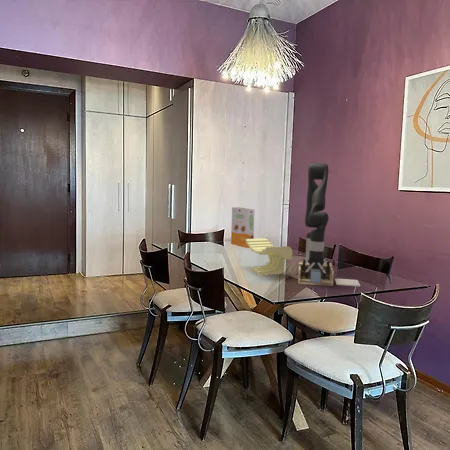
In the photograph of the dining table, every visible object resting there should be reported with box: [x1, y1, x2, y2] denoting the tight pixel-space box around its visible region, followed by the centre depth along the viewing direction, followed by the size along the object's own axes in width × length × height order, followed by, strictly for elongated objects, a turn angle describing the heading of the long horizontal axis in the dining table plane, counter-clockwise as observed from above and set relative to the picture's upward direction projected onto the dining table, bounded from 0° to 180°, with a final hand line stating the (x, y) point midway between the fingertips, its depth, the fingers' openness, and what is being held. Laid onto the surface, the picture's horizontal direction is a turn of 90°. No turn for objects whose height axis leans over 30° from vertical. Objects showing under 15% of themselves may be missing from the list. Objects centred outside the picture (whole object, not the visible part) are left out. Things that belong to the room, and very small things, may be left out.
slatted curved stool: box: [246, 237, 293, 276], centre depth 247 cm, size 30×16×18 cm, turn 19°
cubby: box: [297, 261, 335, 287], centre depth 230 cm, size 18×18×8 cm
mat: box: [334, 278, 361, 287], centre depth 227 cm, size 12×12×1 cm
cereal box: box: [230, 206, 255, 249], centre depth 338 cm, size 22×6×30 cm, turn 32°
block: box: [310, 269, 321, 283], centre depth 226 cm, size 5×5×6 cm
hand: (315, 279), depth 226 cm, fingers open, 8 cm apart
